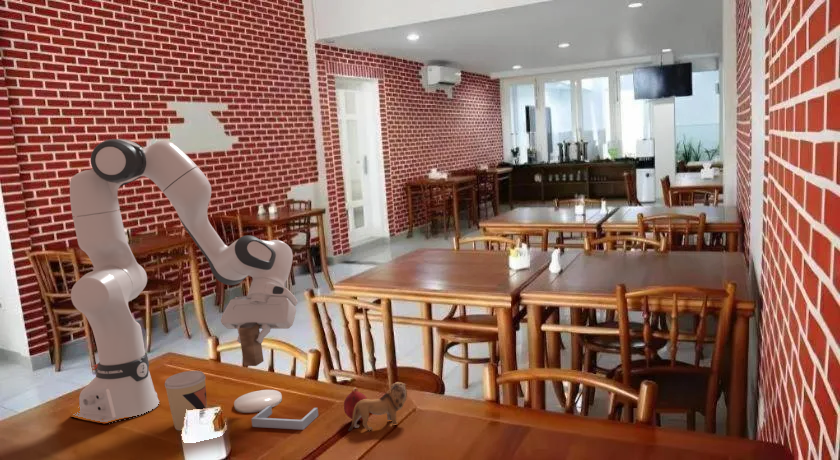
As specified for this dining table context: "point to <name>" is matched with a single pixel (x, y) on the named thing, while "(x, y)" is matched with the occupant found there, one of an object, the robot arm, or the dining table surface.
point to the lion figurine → (381, 406)
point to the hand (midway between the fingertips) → (249, 342)
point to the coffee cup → (185, 394)
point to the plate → (257, 401)
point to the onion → (353, 402)
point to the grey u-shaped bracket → (282, 420)
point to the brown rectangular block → (250, 344)
